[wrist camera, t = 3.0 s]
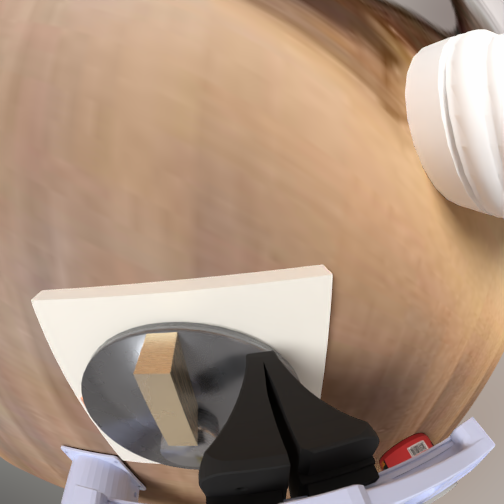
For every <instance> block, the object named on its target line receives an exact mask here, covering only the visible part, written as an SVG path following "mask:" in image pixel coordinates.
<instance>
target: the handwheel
mask: <svg viewBox="0 0 504 504" xmlns="http://www.w3.org/2000/svg"><path fill="white" fill-rule="evenodd" d="M266 351H274V352H275V353H276V355H277V356H278V358H279V359H280V360H281V362H282V363H283V364H284V365H285V367H286V368H287V369H288V370H289V371H290V372H291V374H292V375H293V376H294V377H295V378H296V379H297V380H298V381H299V382H300V380H299V378H298V376H297V374H296V372H295V370H294V369H293V368H292V366H291V365H290V364H289V362H288V361H287V360H286V359H284V358H283V357H282V356H281V355H280V354H279V353H278V352H276V351H275V350H273V349H272V348H271V347H269V346H268V345H266V344H264V343H262V342H260V341H258V340H257V339H255V338H252V337H250V336H247V335H245V334H242V333H240V332H237V331H233V330H230V329H226V328H223V327H218V326H212V325H207V324H201V323H189V322H162V323H154V324H146V325H142V326H138V327H134V328H131V329H128V330H125V331H123V332H120V333H118V334H116V335H115V336H113V337H111V338H109V339H108V340H106V341H105V342H104V343H103V344H102V345H101V346H99V347H98V349H97V350H96V351H95V353H94V354H93V355H92V357H91V359H90V361H89V363H88V365H87V367H86V369H85V371H84V373H83V377H82V382H81V393H82V397H83V402H84V404H85V407H86V409H87V411H88V413H89V414H90V416H91V418H92V419H93V421H94V422H95V423H96V424H97V426H98V427H99V428H100V429H101V430H102V431H103V432H104V433H105V434H106V435H107V436H108V437H110V438H111V439H112V440H113V441H115V442H116V443H117V444H119V445H120V446H122V447H123V448H125V449H127V450H129V451H130V452H132V453H134V454H136V455H139V456H141V457H143V458H146V459H148V460H151V461H154V462H157V463H160V464H164V465H168V466H173V467H179V468H186V469H198V470H199V468H200V464H201V461H202V458H203V455H204V452H205V451H206V450H207V448H208V447H209V446H210V445H211V444H212V442H213V441H214V440H215V439H216V437H217V436H218V434H219V433H220V431H221V430H222V428H223V427H224V425H225V424H226V422H227V420H228V418H229V416H230V414H231V412H232V410H233V408H234V406H235V404H236V401H237V398H238V396H239V393H240V390H241V387H242V383H243V379H244V374H245V368H246V355H247V354H250V353H258V352H266ZM300 383H301V382H300Z"/></svg>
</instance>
